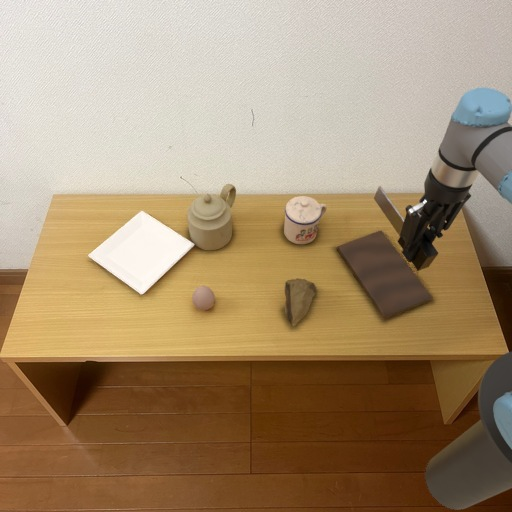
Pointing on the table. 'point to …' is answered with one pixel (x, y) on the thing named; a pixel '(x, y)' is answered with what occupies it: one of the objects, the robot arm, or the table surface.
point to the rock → (298, 298)
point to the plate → (141, 251)
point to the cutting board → (383, 274)
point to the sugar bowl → (211, 219)
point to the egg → (203, 298)
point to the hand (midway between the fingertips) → (413, 254)
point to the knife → (425, 250)
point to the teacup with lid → (302, 219)
